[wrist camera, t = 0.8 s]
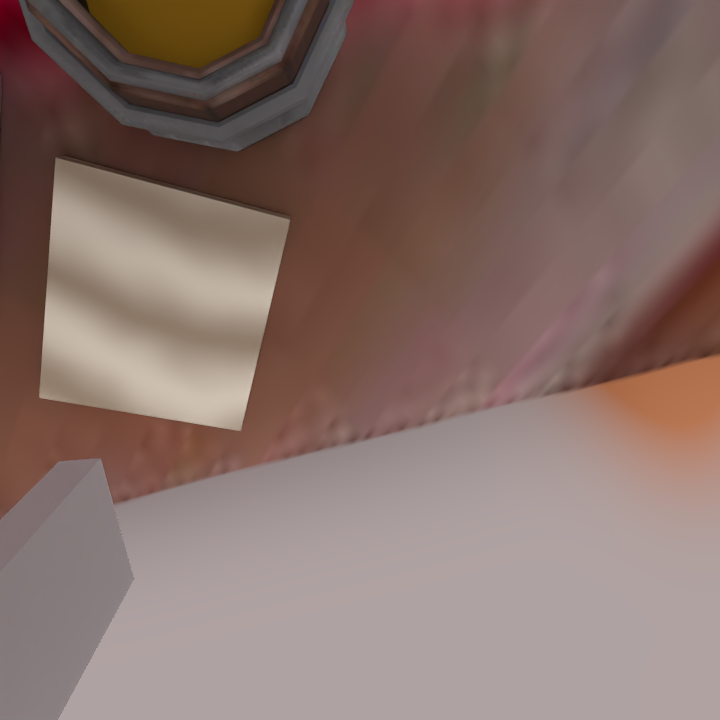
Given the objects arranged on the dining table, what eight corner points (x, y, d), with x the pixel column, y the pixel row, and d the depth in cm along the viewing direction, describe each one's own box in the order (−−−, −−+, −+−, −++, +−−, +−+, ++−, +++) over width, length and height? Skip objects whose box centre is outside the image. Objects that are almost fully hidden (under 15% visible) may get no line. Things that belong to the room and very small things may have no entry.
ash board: (64, 155, 28) (55, 157, 27) (289, 216, 31) (290, 219, 30) (46, 388, 33) (39, 397, 32) (241, 421, 36) (240, 430, 35)
